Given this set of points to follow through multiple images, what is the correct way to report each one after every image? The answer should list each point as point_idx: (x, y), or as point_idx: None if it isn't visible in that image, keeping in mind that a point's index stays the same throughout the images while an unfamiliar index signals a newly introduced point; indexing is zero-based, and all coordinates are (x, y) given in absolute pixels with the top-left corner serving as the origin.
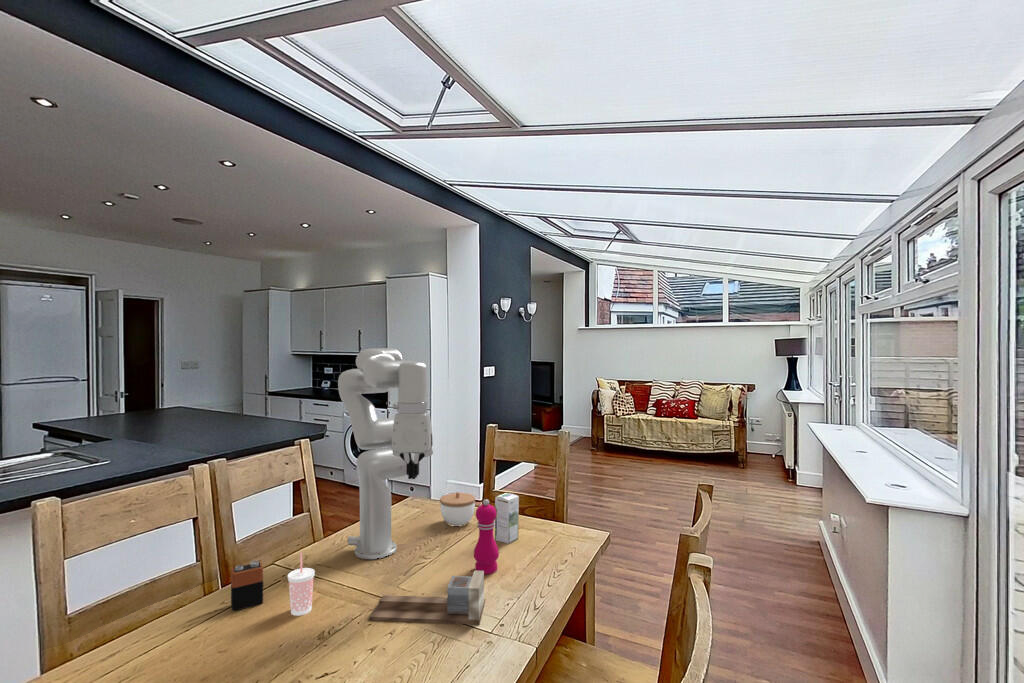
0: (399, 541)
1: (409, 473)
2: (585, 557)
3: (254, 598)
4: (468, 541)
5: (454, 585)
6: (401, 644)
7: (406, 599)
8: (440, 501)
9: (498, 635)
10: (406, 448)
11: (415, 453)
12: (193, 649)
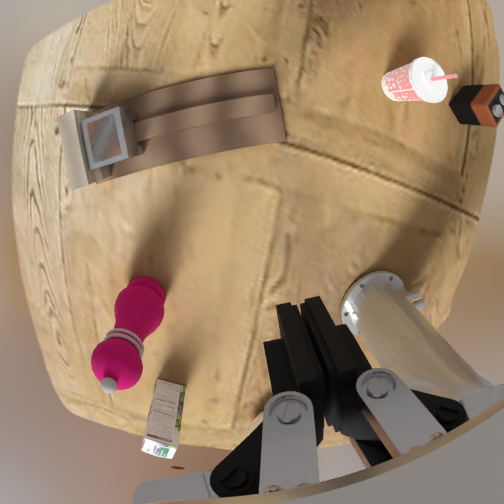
0: None
1: (320, 319)
2: (46, 352)
3: (459, 98)
4: (227, 375)
5: (108, 120)
6: (183, 27)
7: (220, 109)
8: None
9: (55, 104)
10: (454, 489)
11: (309, 484)
12: (440, 11)
